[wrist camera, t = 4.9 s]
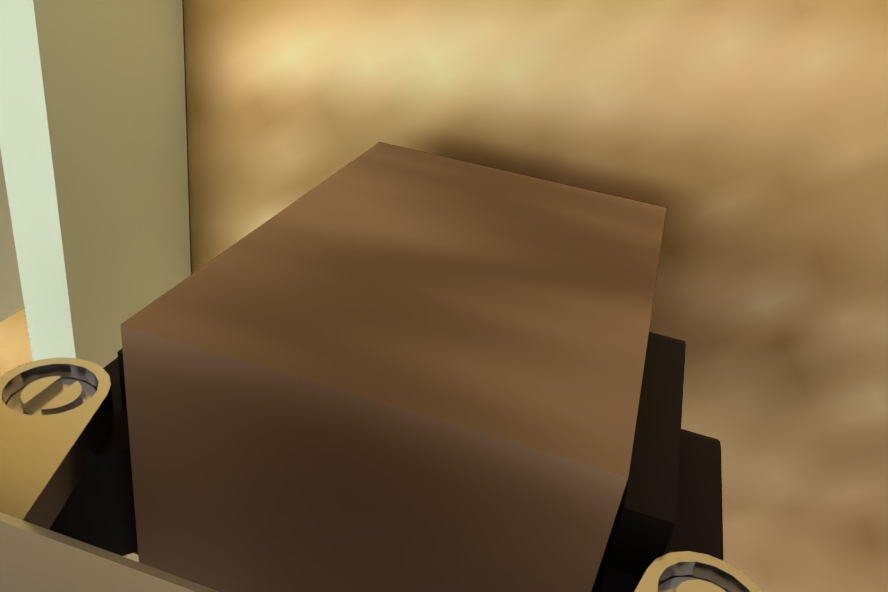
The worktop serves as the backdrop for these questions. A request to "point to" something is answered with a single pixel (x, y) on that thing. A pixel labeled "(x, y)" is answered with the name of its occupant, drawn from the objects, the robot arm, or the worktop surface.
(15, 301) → the white block
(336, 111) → the worktop surface
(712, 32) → the worktop surface
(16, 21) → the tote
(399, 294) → the walnut block
